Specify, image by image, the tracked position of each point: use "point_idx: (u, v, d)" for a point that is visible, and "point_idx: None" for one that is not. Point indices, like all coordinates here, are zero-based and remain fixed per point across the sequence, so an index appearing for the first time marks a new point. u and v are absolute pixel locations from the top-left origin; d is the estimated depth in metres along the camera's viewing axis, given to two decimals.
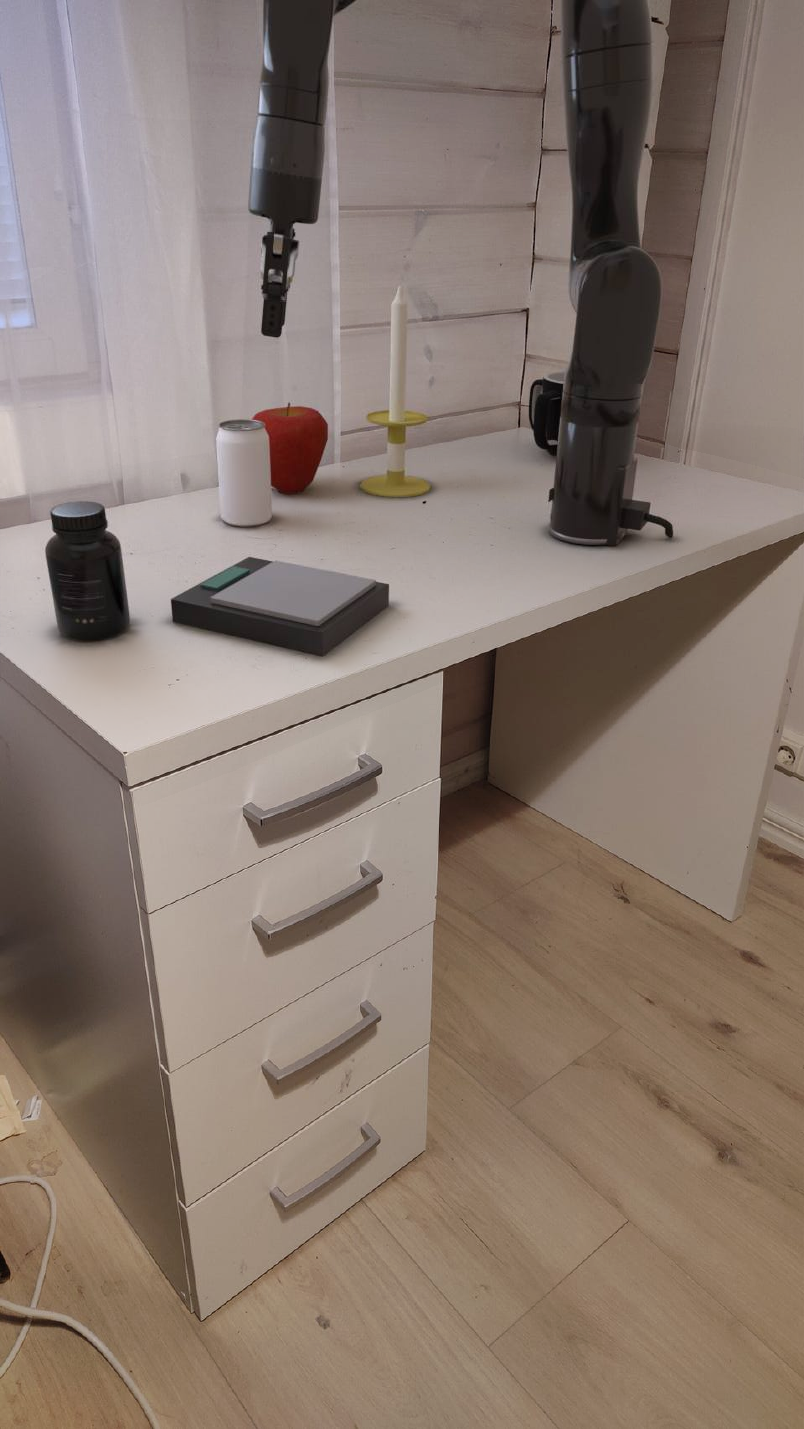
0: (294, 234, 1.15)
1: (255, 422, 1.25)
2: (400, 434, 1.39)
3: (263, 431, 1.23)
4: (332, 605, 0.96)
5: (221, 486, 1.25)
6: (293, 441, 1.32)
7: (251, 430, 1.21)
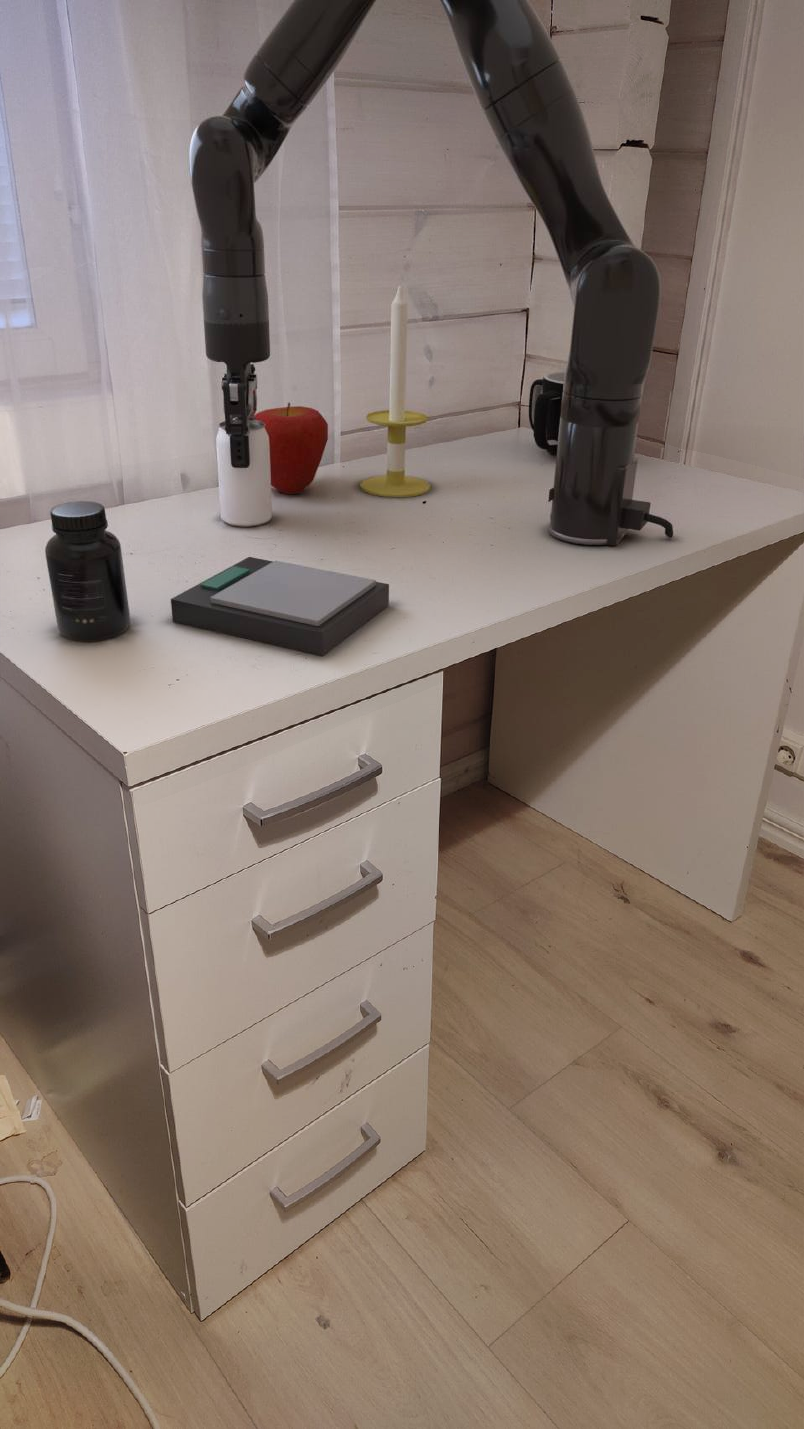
0: (254, 369, 1.26)
1: (255, 422, 1.25)
2: (400, 434, 1.39)
3: (263, 431, 1.23)
4: (332, 605, 0.96)
5: (221, 486, 1.25)
6: (293, 441, 1.32)
7: (251, 430, 1.21)
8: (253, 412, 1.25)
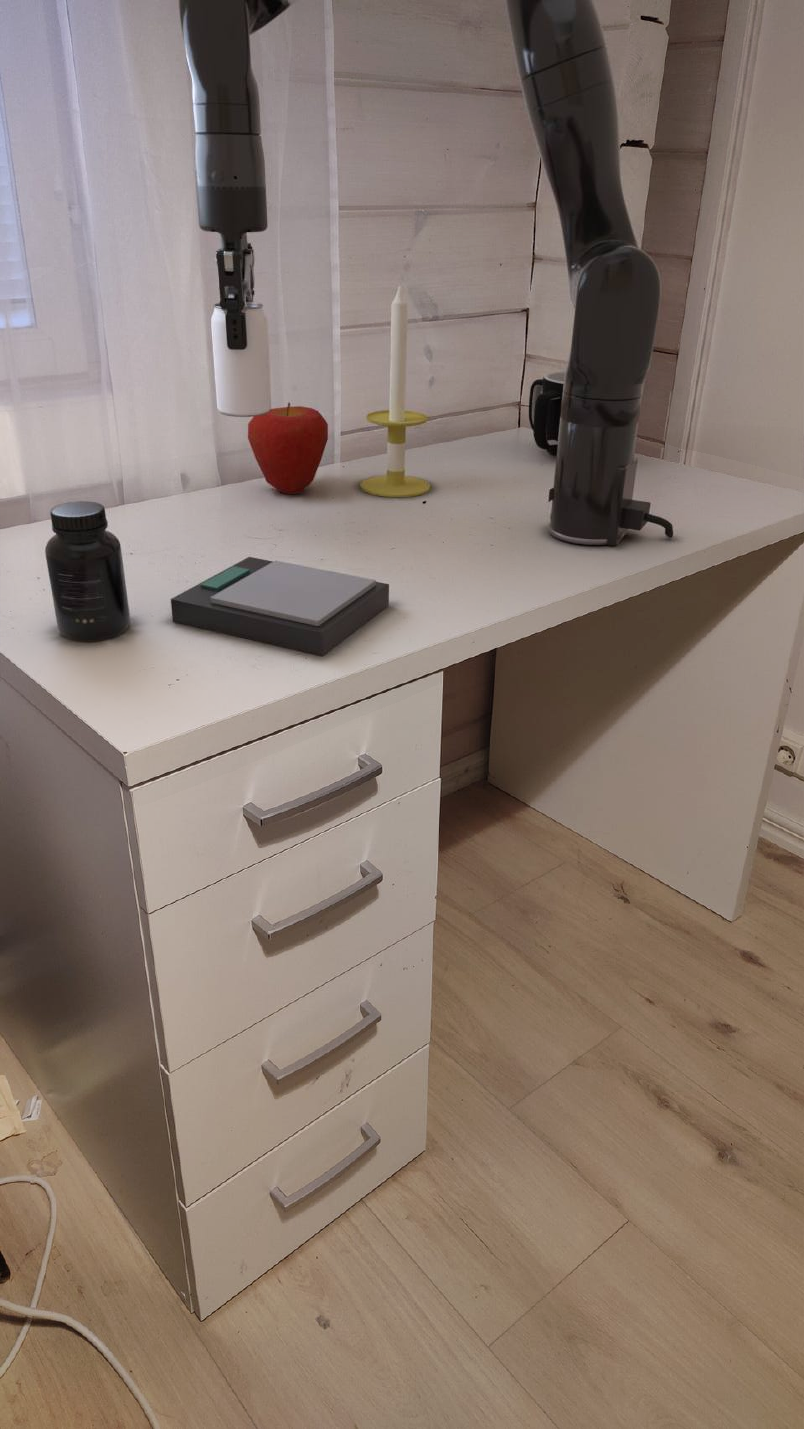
0: (251, 248, 1.18)
1: (252, 304, 1.18)
2: (400, 434, 1.39)
3: (261, 312, 1.15)
4: (332, 605, 0.96)
5: (217, 372, 1.17)
6: (293, 441, 1.32)
7: (248, 309, 1.13)
8: (250, 294, 1.18)
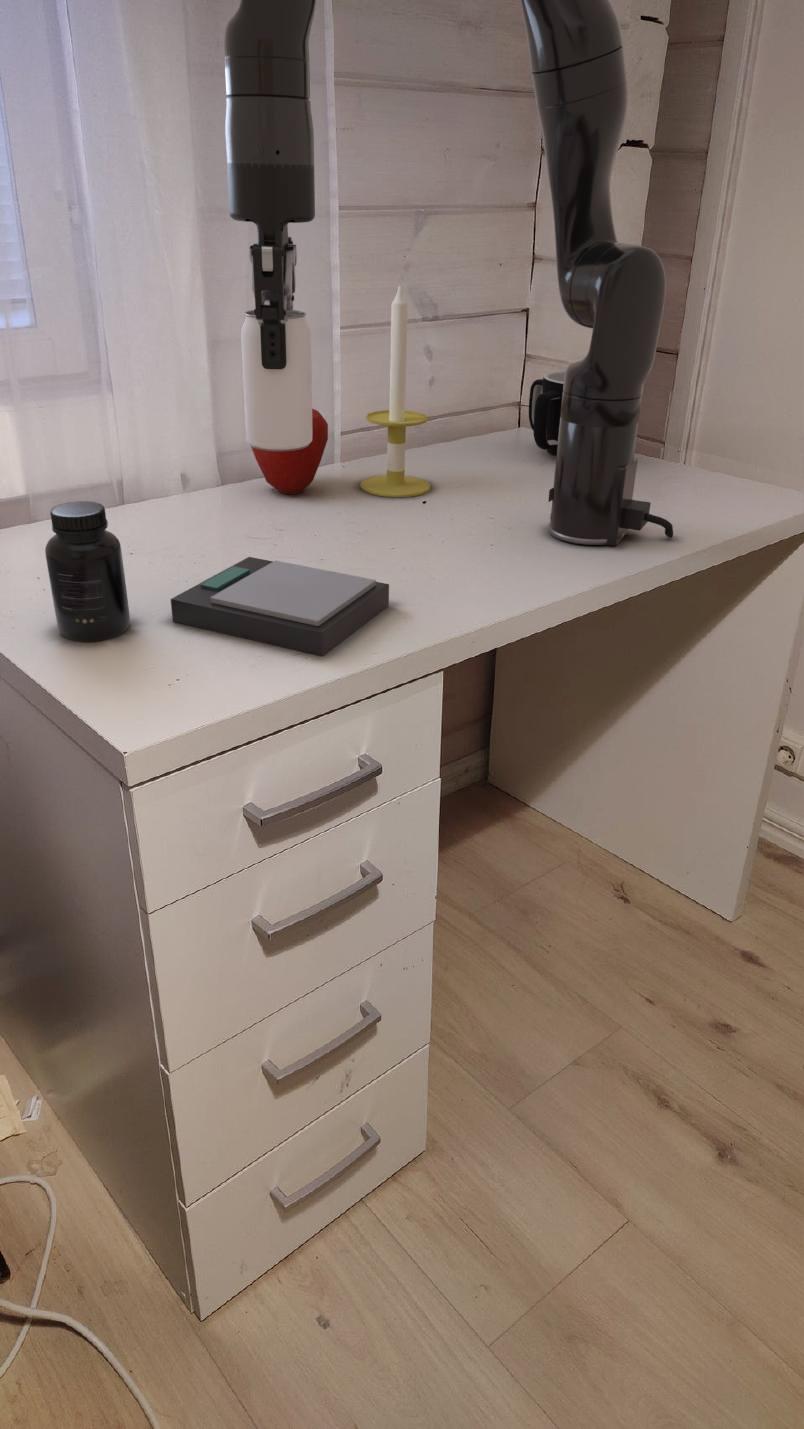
0: (291, 243, 0.95)
1: (292, 312, 0.95)
2: (400, 434, 1.39)
3: (304, 322, 0.93)
4: (332, 605, 0.96)
5: (247, 396, 0.95)
6: None
7: (288, 318, 0.91)
8: (290, 300, 0.95)
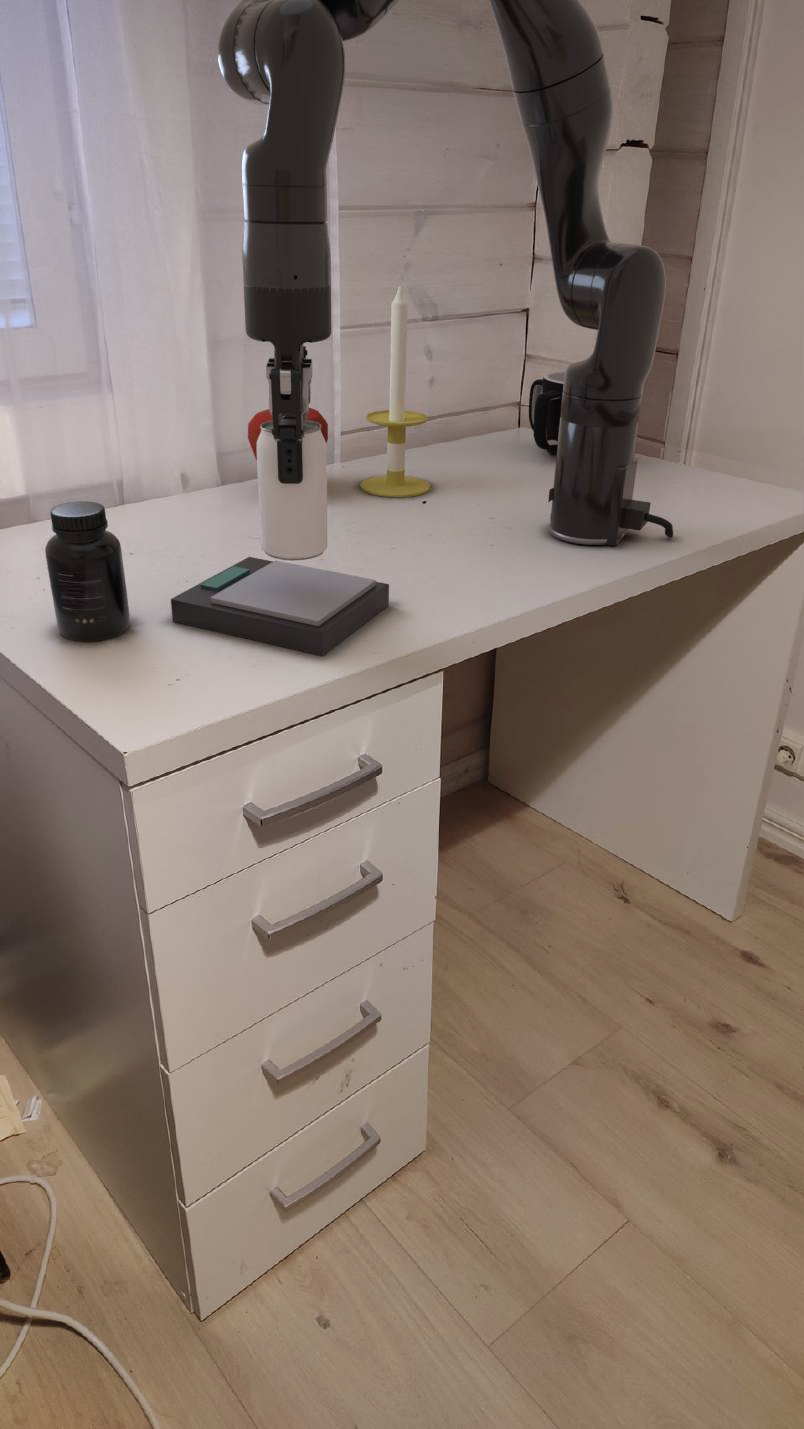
0: (306, 352, 0.95)
1: (307, 422, 0.95)
2: (400, 434, 1.39)
3: (320, 435, 0.92)
4: (332, 605, 0.96)
5: (263, 507, 0.94)
6: None
7: (304, 433, 0.91)
8: None
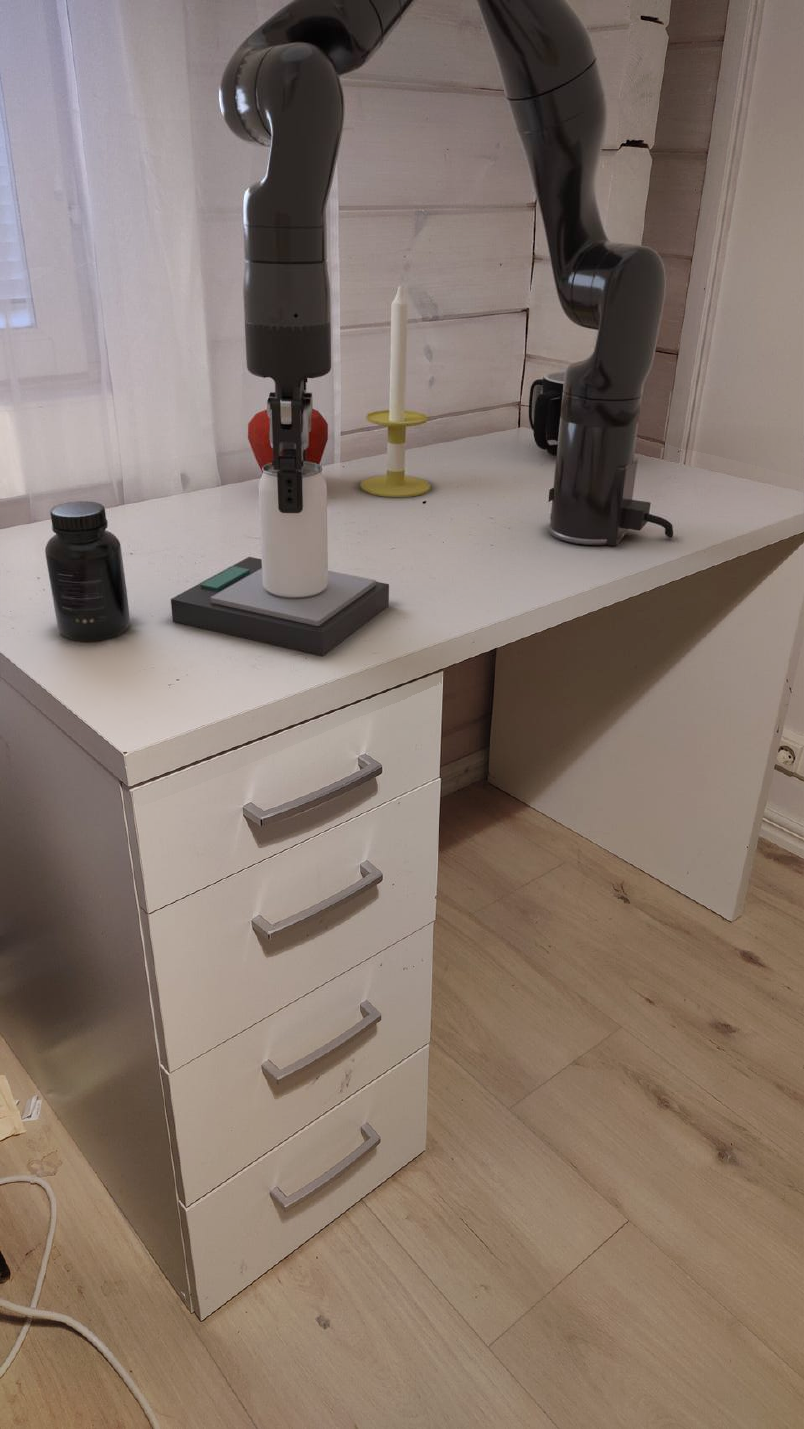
0: (306, 380, 0.96)
1: (308, 464, 0.97)
2: (400, 434, 1.39)
3: (320, 477, 0.94)
4: (332, 605, 0.96)
5: (264, 546, 0.96)
6: None
7: (305, 476, 0.93)
8: None
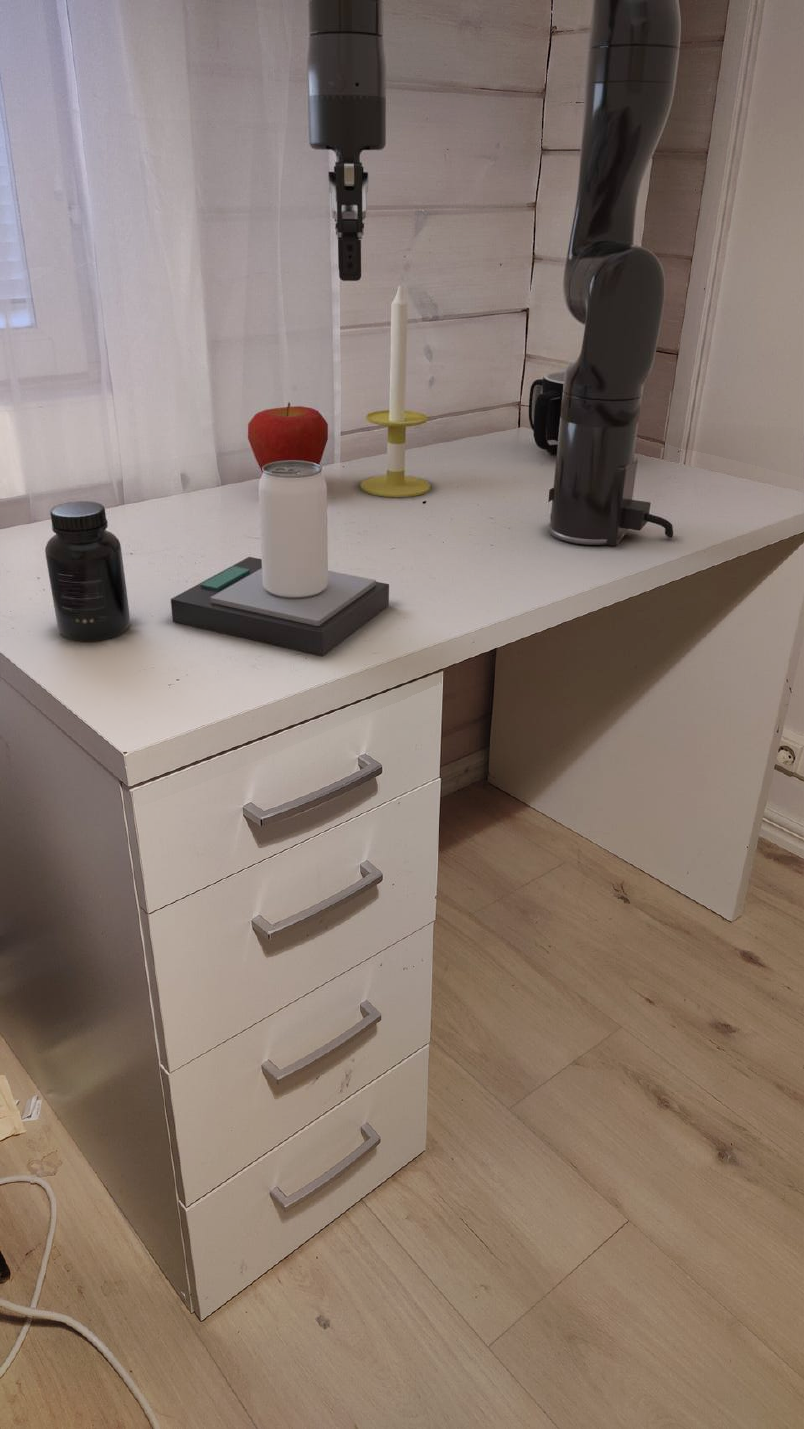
0: None
1: (308, 464, 0.97)
2: (400, 434, 1.39)
3: (320, 477, 0.94)
4: (332, 605, 0.96)
5: (264, 546, 0.96)
6: (293, 441, 1.32)
7: (305, 476, 0.93)
8: None
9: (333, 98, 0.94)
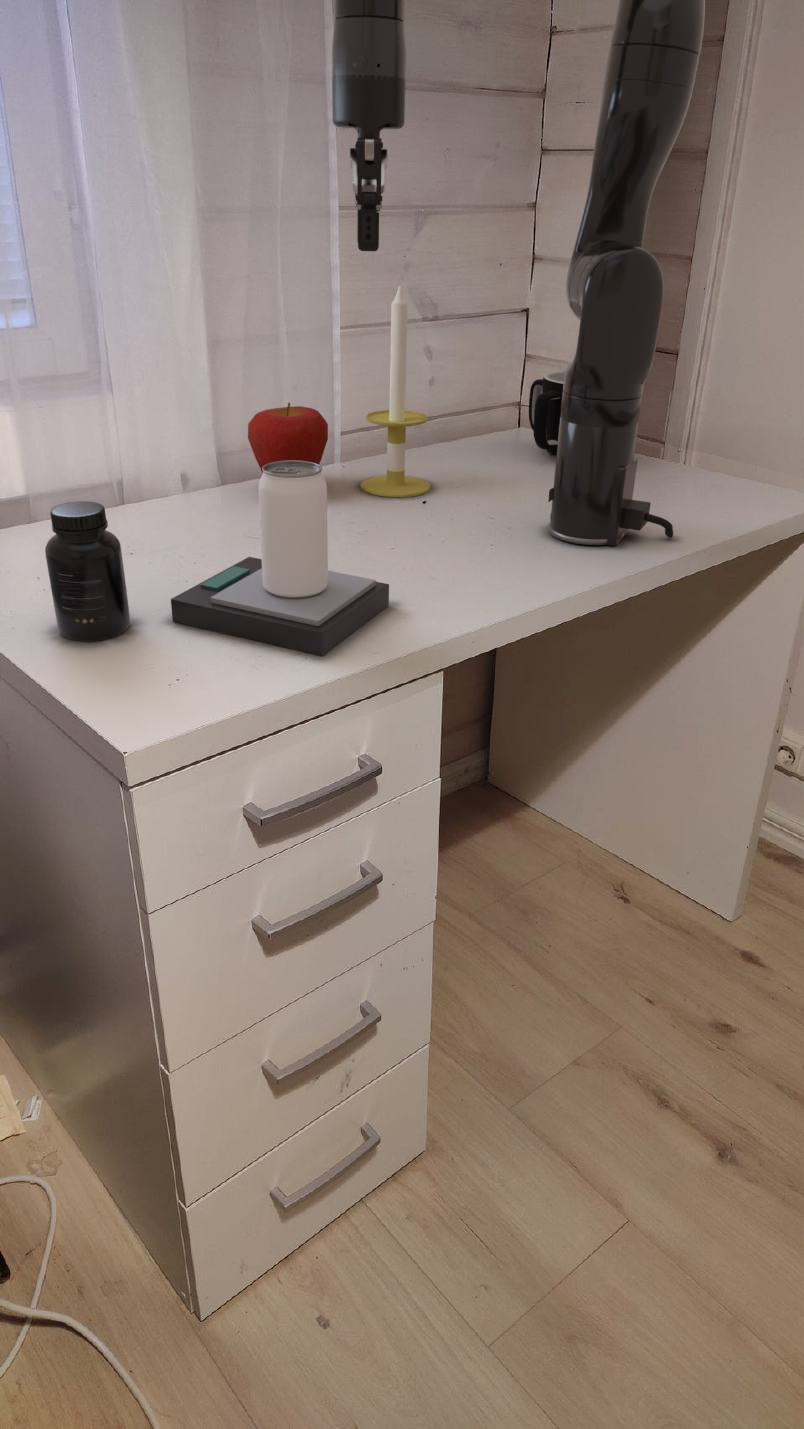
0: None
1: (308, 464, 0.97)
2: (400, 434, 1.39)
3: (320, 477, 0.94)
4: (332, 605, 0.96)
5: (264, 546, 0.96)
6: (293, 441, 1.32)
7: (305, 476, 0.93)
8: None
9: (356, 78, 1.00)
